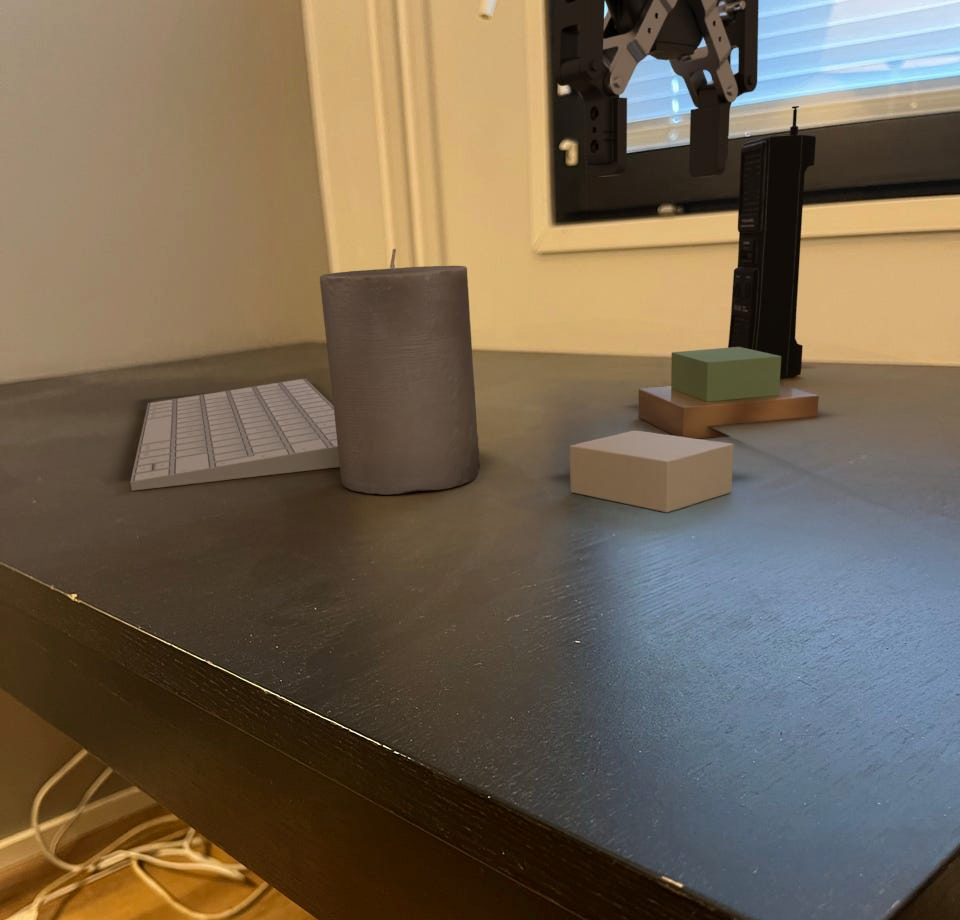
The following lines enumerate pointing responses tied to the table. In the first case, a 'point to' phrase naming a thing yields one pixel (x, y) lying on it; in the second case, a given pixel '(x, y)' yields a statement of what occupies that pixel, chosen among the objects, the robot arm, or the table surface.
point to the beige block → (651, 469)
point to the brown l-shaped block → (719, 410)
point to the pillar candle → (402, 377)
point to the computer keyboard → (236, 435)
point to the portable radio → (770, 246)
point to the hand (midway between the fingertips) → (659, 176)
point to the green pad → (725, 373)
